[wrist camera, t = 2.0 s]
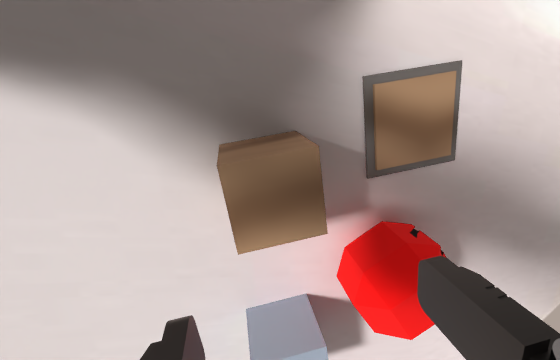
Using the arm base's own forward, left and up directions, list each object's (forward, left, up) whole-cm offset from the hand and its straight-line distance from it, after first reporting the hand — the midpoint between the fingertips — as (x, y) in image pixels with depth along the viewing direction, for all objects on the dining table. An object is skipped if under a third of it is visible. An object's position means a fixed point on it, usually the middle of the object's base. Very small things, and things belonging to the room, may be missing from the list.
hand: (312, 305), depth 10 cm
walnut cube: (0, 0, -14) cm, 14 cm away
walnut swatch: (-2, +13, -14) cm, 19 cm away
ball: (+10, +9, -14) cm, 20 cm away
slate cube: (+16, -1, -14) cm, 21 cm away
